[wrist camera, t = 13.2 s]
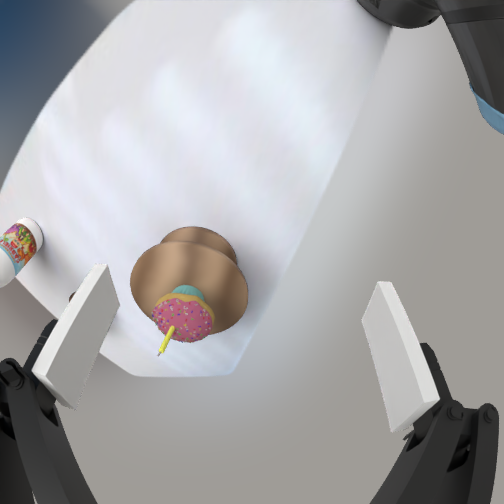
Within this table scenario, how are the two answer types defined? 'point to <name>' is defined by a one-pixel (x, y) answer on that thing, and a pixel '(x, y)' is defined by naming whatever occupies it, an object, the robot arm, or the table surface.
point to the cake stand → (192, 274)
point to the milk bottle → (18, 248)
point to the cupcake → (183, 316)
